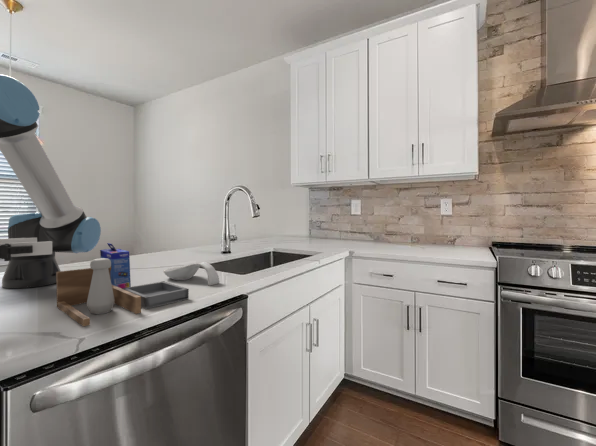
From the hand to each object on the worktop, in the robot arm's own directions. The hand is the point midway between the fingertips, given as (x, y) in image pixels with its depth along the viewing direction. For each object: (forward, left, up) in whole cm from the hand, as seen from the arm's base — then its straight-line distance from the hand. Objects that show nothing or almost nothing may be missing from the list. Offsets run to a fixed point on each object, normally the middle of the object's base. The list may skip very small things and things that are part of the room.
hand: (44, 245), depth 70 cm
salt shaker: (+4, +10, -17) cm, 20 cm away
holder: (+2, +10, -17) cm, 19 cm away
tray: (+3, +24, -17) cm, 29 cm away
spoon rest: (-10, +44, -17) cm, 48 cm away
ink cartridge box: (-17, +21, -17) cm, 32 cm away
